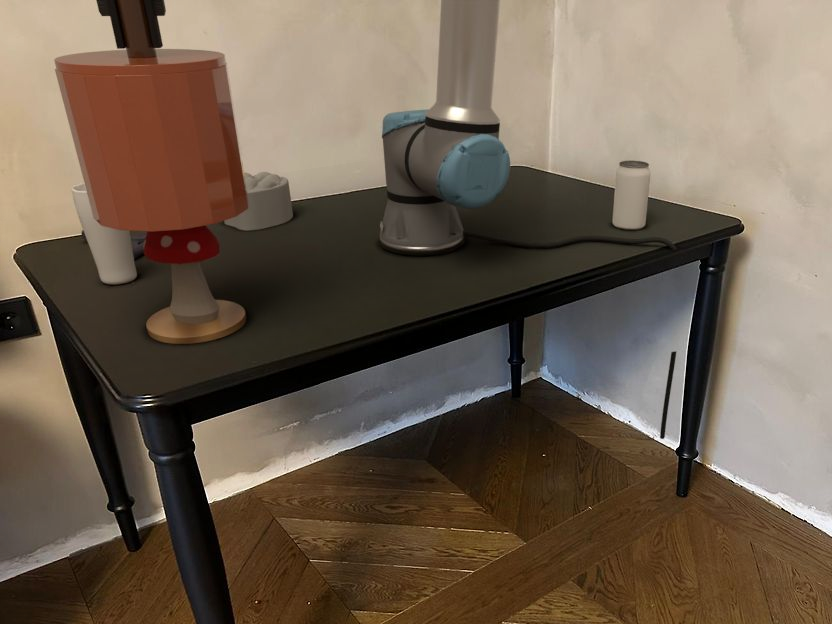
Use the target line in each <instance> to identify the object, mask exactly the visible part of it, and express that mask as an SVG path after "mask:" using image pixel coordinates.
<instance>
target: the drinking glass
mask: <svg viewBox="0 0 832 624" xmlns="http://www.w3.org/2000/svg"><path fill="white" fill-rule="evenodd" d="M70 190H71V194H72V198H73V203H74V207H75V210H76V214H77V217H78V219H79V223H80V226H81V228H82V230H83V231H84V234H85V236H86V239H87V241H86V242H87V245H88V247H89V249H90V252H91V255H92V258H93V261H94V264H95V266H96V269H97V273H98V276H99V279H100V281H101V282H102V283H104V284H106V285H109V286H110V285H111V286H117V285H118V286H119V285H123V284H128V283H131V282H133V281H134V280H136V278H137V276H138V272H137V268H136V263H135V259H134V256H133V249H132V243H131V236H132V235H131V231H126V230H118V229H113V228H109V227H105V226H101V225H100V224H99V223H98V222H97V221H96V220H95V219H94V218H93V214H92V210H91V206H90V202H89V198H88V195H87V191H86V187H85V183H84V182H81V183H78V184H75V185H73V186H72V187H71V188H70Z"/></svg>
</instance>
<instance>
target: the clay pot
mask: <svg viewBox="0 0 832 624" xmlns="http://www.w3.org/2000/svg"><path fill="white" fill-rule="evenodd" d="M116 5H117V10H118V14H119V19H120V23H121V28H122V33H123V37H124V42H125V47H126V48H125V49H115V50H114V49H112V50H99V51H97V50H96V51H87V52H79V53H70V54H66V55H65V54H64V55H60V56H58V57H55V58H54V60H53V62H54V65H55V68H54V73H55V76H56V79H57V83H58V87H59V92H60V94H61V98H62V99H61V100H62V103H63V106H64V110H65V113H66V118H67V121H68V125H69V129H70V132H71V137H72V140H73V144H74V148H75V152H76V156H77V160H78V163H79V169H80V171H81V175H82V179H83V183H85V187H86V191H87V195H88V198H89V202H90V206H91V210H92V214H93V218H94V219H95V220H96V221H97V222H98V223H99V224H100V225H101V226H105V227H109V228H113V229H118V230H126V231H130V232H150V231H151V232H154V231H169V230H183V229H189V228H194V227H200V226H206V225H207V226H210V225H216V224H218V223H221V222H224V220H227V219H231V218H234V217H236V216H238V215H239V214H241V213H242V212H244V211H245V210H247V209H248V204H249V200H248V194H247V187H246V181H245V175H244V172H245V169H244V164H243V157H242V151H241V144H240V143H241V142H240V137H239V132H238V126H237V119H236V113H235V107H234V99H233V93H232V88H231V87H232V86H231V81H230V75H229V68H228V62H227V61H226V60H227V59H226V54H224V53H222V52H220V51H215V50H214V51H213V50H207V49H206V50H205V49H192V48H191V49H190V48H153V43H152V38H151V33H150V28H149V23H148V18H147V13H146V8H145V3H144V0H116Z"/></svg>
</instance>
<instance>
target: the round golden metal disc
mask: <svg viewBox="0 0 832 624" xmlns="http://www.w3.org/2000/svg"><path fill="white" fill-rule="evenodd" d="M215 301H216V302H217V304H218V305H219V313H218V317H217V318H216V319H215V320H213V321H211V322H207V323H202V324H185V323H180V322H178V321H176V320H175V318H174V317H173V315H172V314H171V312H170V306H167V307H164V308H162V309H160V310H159V311H157V312H155V313H153V314H152V315H151V316H150V317H149V318H148V319H147V321H146V322H145V323H146V325H145V327H146V330H147V334H148V336H149V337H150V338H151V339H153V340H155V341H158V342H160V343H165V344H172V345H191V344H192V345H193V344H199V343H207V342H210V341H215V340H218V339H221V338H224V337H227V336H230V335H231V334H234V333H236V332H237V331H239V330H240V329H241V328H242V327H243V326H244V325H245V324H246V322H247V315H246V310H245V308H244V307H243V306H242V305H241V304H239V303H237V302H233V301H229V300H224V299H215Z"/></svg>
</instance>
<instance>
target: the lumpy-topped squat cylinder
mask: <svg viewBox="0 0 832 624" xmlns="http://www.w3.org/2000/svg"><path fill="white" fill-rule="evenodd" d="M244 175H245V181H246V187H247V194H248V200H249V204H248V209H247V210H245V211H244V212H242V213H241V214H239V215H238V216H236V217H234V218H231V219H227V220H224V221H223V222H224V224H225V225H226V226H229V227H233V228H236V229H237V230H239V231H258V230H262V229H263V230H264V229H267V228H272V227H274V226H279V225H281V224H282V225H283V224H285V223H287V222H289V221H291V220H292V219H293V217H294V213H293V205H292V196H291V190H290V183H289V179H288V178H287V177H284V176H279V175H278V174H276V173H271V172H268V171H261V172H258V173H257V174H256V175H255V174H254V175H252V174H251V173H249V172H245V171H244Z"/></svg>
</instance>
